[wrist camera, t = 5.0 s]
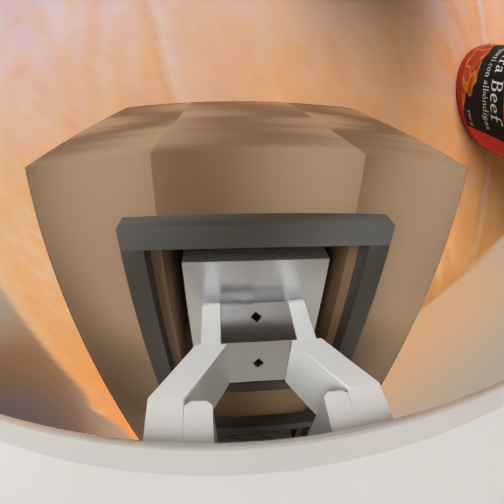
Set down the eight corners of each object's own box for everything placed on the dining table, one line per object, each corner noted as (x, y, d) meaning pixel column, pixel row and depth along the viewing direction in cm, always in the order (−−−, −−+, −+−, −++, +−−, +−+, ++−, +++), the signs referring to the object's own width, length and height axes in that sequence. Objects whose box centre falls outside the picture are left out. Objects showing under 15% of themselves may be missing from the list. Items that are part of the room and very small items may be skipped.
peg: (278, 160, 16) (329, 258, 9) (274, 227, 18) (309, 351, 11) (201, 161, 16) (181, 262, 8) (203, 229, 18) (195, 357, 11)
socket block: (349, 108, 16) (480, 175, 7) (307, 354, 27) (335, 465, 18) (126, 107, 15) (13, 176, 6) (168, 359, 26) (158, 475, 17)
